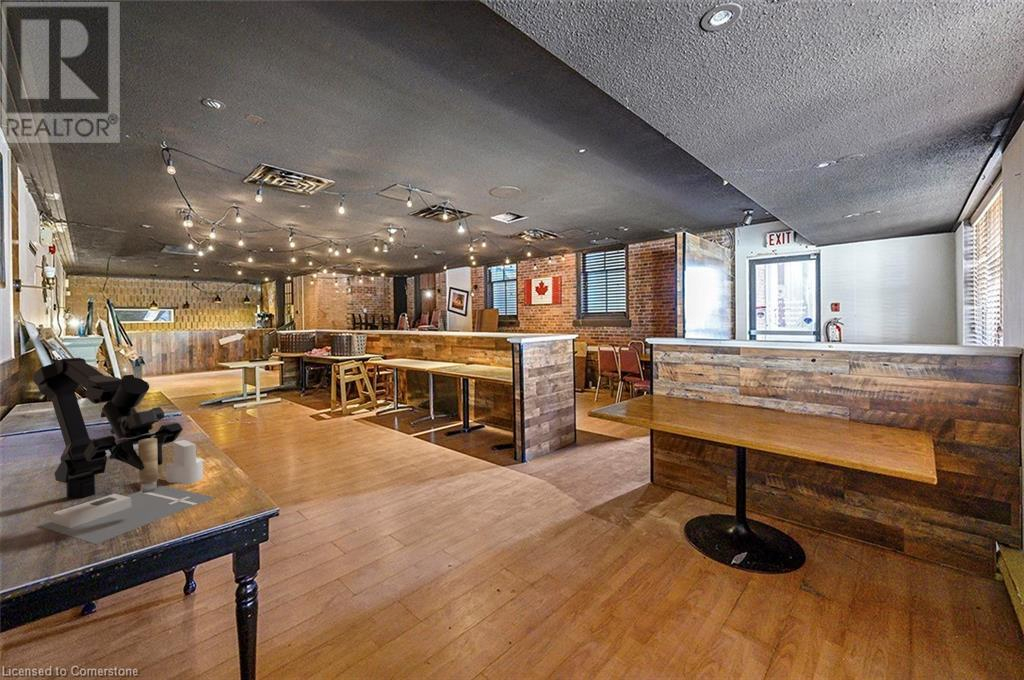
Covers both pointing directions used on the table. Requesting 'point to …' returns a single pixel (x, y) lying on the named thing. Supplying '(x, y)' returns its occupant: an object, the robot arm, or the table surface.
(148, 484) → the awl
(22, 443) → the table surface
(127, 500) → the white flat block
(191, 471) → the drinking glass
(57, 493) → the table surface
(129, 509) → the floor panel
